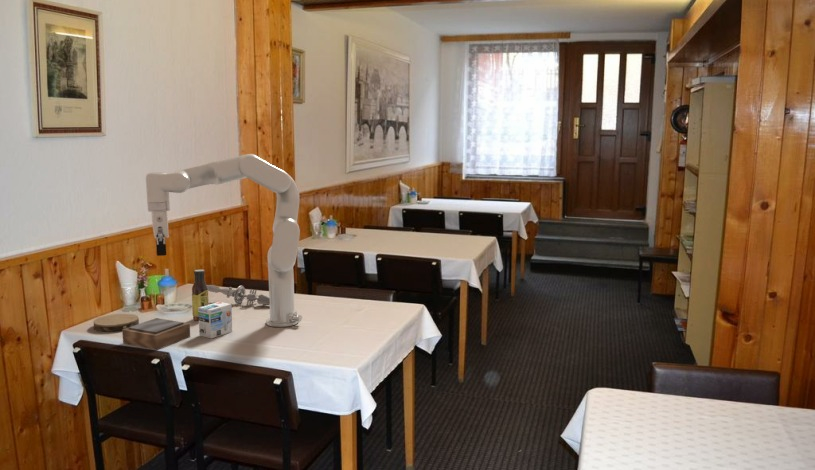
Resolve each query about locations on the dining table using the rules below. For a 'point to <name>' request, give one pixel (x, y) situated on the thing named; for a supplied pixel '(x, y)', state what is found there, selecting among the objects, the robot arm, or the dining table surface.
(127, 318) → the round wood slice
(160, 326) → the walnut base
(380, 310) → the dining table surface
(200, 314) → the light bulb box
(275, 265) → the robot arm
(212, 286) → the spaceship
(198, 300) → the sauce bottle
